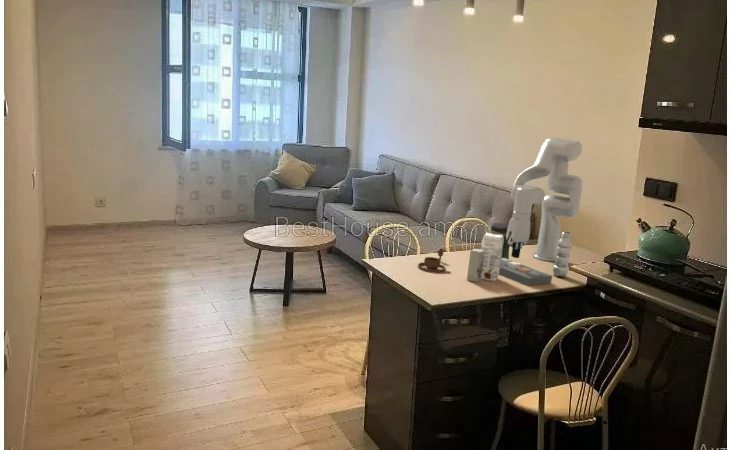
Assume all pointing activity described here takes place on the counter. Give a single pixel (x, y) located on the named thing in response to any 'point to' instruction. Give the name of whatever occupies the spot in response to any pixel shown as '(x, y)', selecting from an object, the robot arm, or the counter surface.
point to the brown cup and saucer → (433, 264)
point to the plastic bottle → (562, 255)
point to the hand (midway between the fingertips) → (515, 257)
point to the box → (475, 265)
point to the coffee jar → (502, 230)
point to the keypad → (524, 276)
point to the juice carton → (491, 256)
